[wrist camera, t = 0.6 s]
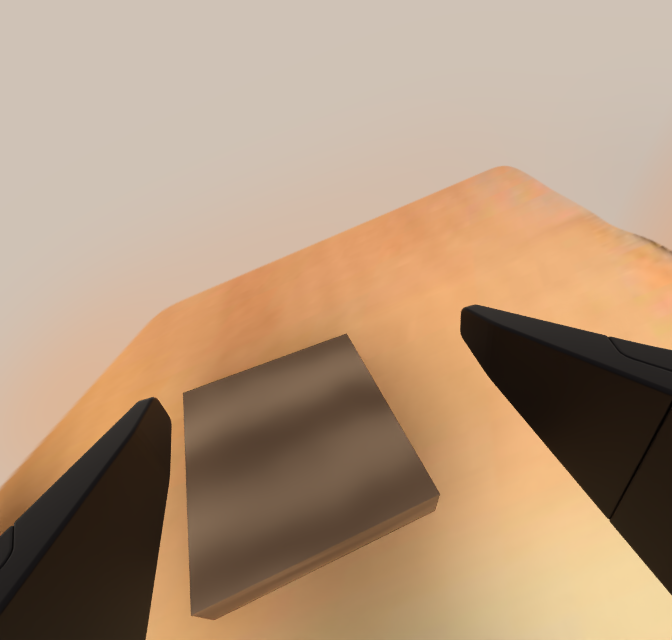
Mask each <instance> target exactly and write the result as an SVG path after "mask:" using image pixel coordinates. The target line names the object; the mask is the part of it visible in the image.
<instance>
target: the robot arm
mask: <svg viewBox="0 0 672 640" xmlns="http://www.w3.org/2000/svg"><path fill="white" fill-rule="evenodd" d="M460 332H461V336H462V338H463V340H464V341H465V343H466V344H467V346H468V347H469V349H470V350H471V352H472V353H473V355H474V356H475V358H476V359H477V361H478V362H479V364H480V365H481V367H482V368H483V370H484V371H485V372H486V374H487V375H488V377H489V378H490V379H491V380H492V382H493V383H494V384H495V385H496V386H497V388H498V389H499V390H500V391H501V392H502V394H503V395H504V396H505V397H506V398H507V399H508V401H509V402H510V403H511V404H512V405H513V407H514V408H515V409H516V410H517V411H518V413H519V414H520V415H521V416H522V417H523V419H524V420H525V421H526V422H527V423H528V424H529V426H530V427H531V428H532V429H533V430H534V432H535V433H536V434H537V435H538V436H539V438H540V439H541V440H542V441H543V442H544V444H545V445H546V446H547V447H548V448H549V449H550V451H551V452H552V453H553V454H554V455H555V457H556V458H557V459H558V460H559V461H560V463H561V464H562V465H563V466H564V467H565V469H566V470H567V471H568V472H569V473H570V474H571V476H572V477H573V478H574V479H575V480H576V482H577V483H578V484H579V485H580V486H581V488H582V489H583V490H584V491H585V492H586V494H587V495H588V496H589V497H590V498H591V499H592V501H593V502H594V503H595V504H596V505H597V507H598V508H599V509H600V510H601V511H602V513H603V514H604V515H605V516H606V517H607V518H608V519H610V522H611V524H612V525H613V526H614V527H615V528H616V530H617V531H618V532H619V533H620V534H621V536H622V537H623V538H624V539H625V540H626V541H627V543H628V544H629V545H630V546H631V547H632V549H633V550H634V551H635V552H636V553H637V555H638V556H639V557H640V558H641V559H642V561H643V562H644V563H645V564H646V565H647V566H648V568H649V569H650V570H651V571H652V572H653V574H654V575H655V576H656V577H657V578H658V580H659V581H660V582H661V583H662V584H663V585H664V587H665V588H666V589H667V590H668V591H669V593H670V594H671V595H672V350H668V349H663V348H658V347H654V346H649V345H645V344H640V343H636V342H631V341H627V340H623V339H619V338H615V337H607V336H606V335H602V334H598V333H593V332H589V331H585V330H581V329H577V328H572V327H568V326H564V325H560V324H556V323H551V322H547V321H543V320H539V319H535V318H531V317H526V316H522V315H518V314H514V313H510V312H506V311H501V310H497V309H493V308H489V307H485V306H480V305H471V306H468V307H464V308H463V309H462V311H461V325H460ZM171 427H172V426H171V420H170V417H169V415H168V414H167V412H166V411H165V409H164V408H163V406H162V405H161V403H160V402H159V400H158V399H157V398H155V397H151V398H148V399H145V400H141V401H139V402H137V403H136V404H135V405H134V406H133V407H132V408H131V409H130V410H129V411H128V412H127V413H126V414H125V415H124V416H123V417H122V418H121V419H120V420H119V421H118V422H117V423H116V424H115V425H114V426H113V427H112V428H111V429H110V430H109V431H108V432H107V433H105V434H104V435H103V436H102V437H101V438H100V439H99V440H98V441H97V442H96V443H95V444H94V445H93V446H92V447H91V448H90V449H89V450H88V451H87V452H86V453H85V454H84V455H83V456H82V457H81V458H80V459H79V460H78V461H77V462H76V463H75V464H74V465H73V466H72V467H71V468H70V469H69V470H68V471H67V472H66V473H65V474H64V475H63V476H62V477H60V478H59V479H58V480H57V481H56V482H55V483H54V484H53V485H52V486H51V487H50V488H49V489H48V490H47V491H46V492H45V493H44V494H43V495H42V496H41V497H40V498H39V499H38V500H37V501H36V502H35V503H34V504H33V505H32V506H31V507H30V508H29V509H28V510H27V511H26V512H25V513H24V514H23V515H22V516H21V517H20V518H19V519H18V520H17V521H15V523H14V526H11V527H9V528H8V529H7V530H6V531H5V532H4V533H3V534H2V535H1V536H0V640H146V633H147V626H148V620H149V613H150V607H151V600H152V593H153V587H154V580H155V573H156V567H157V560H158V553H159V547H160V540H161V533H162V527H163V520H164V513H165V507H166V500H167V494H168V487H169V479H170V460H171Z"/></svg>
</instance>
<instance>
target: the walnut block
mask: <svg viewBox="0 0 672 640" xmlns="http://www.w3.org/2000/svg"><path fill="white" fill-rule="evenodd" d="M183 404H184V432H185V460H186V488H187V516H188V543H189V571H190V599H191V616H196V617H201V618H206V619H211V620H215V619H217V618H219V617H221V616H223V615H225V614H227V613H229V612H231V611H233V610H235V609H238V608H240V607H242V606H244V605H246V604H248V603H250V602H252V601H254V600H256V599H258V598H260V597H262V596H264V595H266V594H268V593H270V592H272V591H274V590H276V589H278V588H280V587H282V586H284V585H286V584H288V583H290V582H292V581H294V580H296V579H298V578H300V577H302V576H304V575H306V574H308V573H310V572H312V571H314V570H316V569H318V568H320V567H322V566H324V565H326V564H328V563H330V562H332V561H334V560H336V559H338V558H340V557H342V556H344V555H346V554H348V553H350V552H352V551H354V550H356V549H358V548H360V547H362V546H364V545H366V544H368V543H370V542H372V541H374V540H376V539H379V538H381V537H383V536H385V535H387V534H389V533H391V532H393V531H395V530H397V529H399V528H401V527H403V526H405V525H407V524H409V523H411V522H413V521H415V520H417V519H419V518H421V517H423V516H425V515H427V514H429V513H431V512H433V511H435V509H436V506H437V502H438V499H439V496H440V493H439V492H438V490H437V488H436V486H435V485H434V483H433V481H432V479H431V478H430V476H429V474H428V473H427V471H426V469H425V467H424V466H423V464H422V462H421V461H420V459H419V457H418V455H417V454H416V452H415V450H414V449H413V447H412V445H411V443H410V442H409V440H408V438H407V437H406V435H405V433H404V431H403V430H402V428H401V426H400V425H399V423H398V421H397V419H396V418H395V416H394V414H393V412H392V411H391V409H390V407H389V406H388V404H387V402H386V400H385V399H384V397H383V395H382V394H381V392H380V390H379V388H378V387H377V385H376V383H375V382H374V380H373V378H372V376H371V375H370V373H369V371H368V370H367V368H366V366H365V364H364V363H363V361H362V359H361V358H360V356H359V354H358V352H357V351H356V349H355V347H354V345H353V344H352V342H351V340H350V339H349V337H348V335H347V334H344V335H341V336H339V337H336V338H333V339H330V340H328V341H325V342H322V343H319V344H317V345H314V346H311V347H308V348H306V349H303V350H300V351H297V352H295V353H292V354H289V355H286V356H284V357H281V358H278V359H275V360H273V361H270V362H267V363H264V364H262V365H259V366H256V367H253V368H251V369H248V370H245V371H242V372H240V373H237V374H234V375H231V376H229V377H226V378H223V379H220V380H218V381H215V382H212V383H209V384H207V385H204V386H201V387H198V388H196V389H193V390H190V391H187V392H185V393H183Z"/></svg>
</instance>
